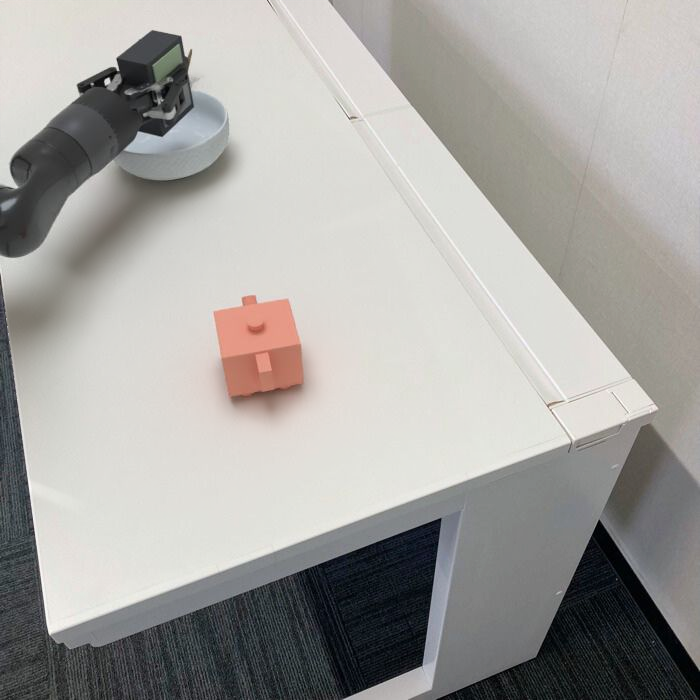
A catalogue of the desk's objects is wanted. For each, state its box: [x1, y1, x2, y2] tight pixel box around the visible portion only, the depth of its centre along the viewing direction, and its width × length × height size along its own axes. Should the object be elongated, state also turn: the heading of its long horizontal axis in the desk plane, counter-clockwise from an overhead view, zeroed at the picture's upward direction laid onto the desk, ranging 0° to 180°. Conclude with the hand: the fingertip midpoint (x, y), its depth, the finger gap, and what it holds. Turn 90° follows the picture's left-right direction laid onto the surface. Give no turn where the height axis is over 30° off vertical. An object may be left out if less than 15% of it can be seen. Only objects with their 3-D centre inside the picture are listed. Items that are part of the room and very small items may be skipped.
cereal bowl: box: [112, 88, 230, 181], centre depth 106 cm, size 17×17×7 cm
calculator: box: [115, 29, 194, 137], centre depth 99 cm, size 5×8×10 cm, turn 157°
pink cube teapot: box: [213, 294, 305, 398], centre depth 80 cm, size 8×12×8 cm, turn 14°
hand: (167, 67), depth 100 cm, fingers closed on calculator, 4 cm apart
